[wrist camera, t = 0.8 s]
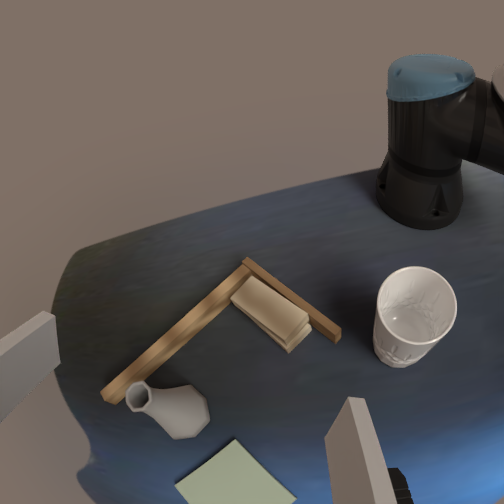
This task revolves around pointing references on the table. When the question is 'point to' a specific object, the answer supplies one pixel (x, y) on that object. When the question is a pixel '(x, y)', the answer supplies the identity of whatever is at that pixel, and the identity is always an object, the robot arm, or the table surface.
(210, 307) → the corner fence
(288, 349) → the offcut low
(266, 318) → the offcut top
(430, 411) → the table surface
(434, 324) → the white cup
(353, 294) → the table surface
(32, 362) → the robot arm
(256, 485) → the coaster
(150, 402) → the flask
